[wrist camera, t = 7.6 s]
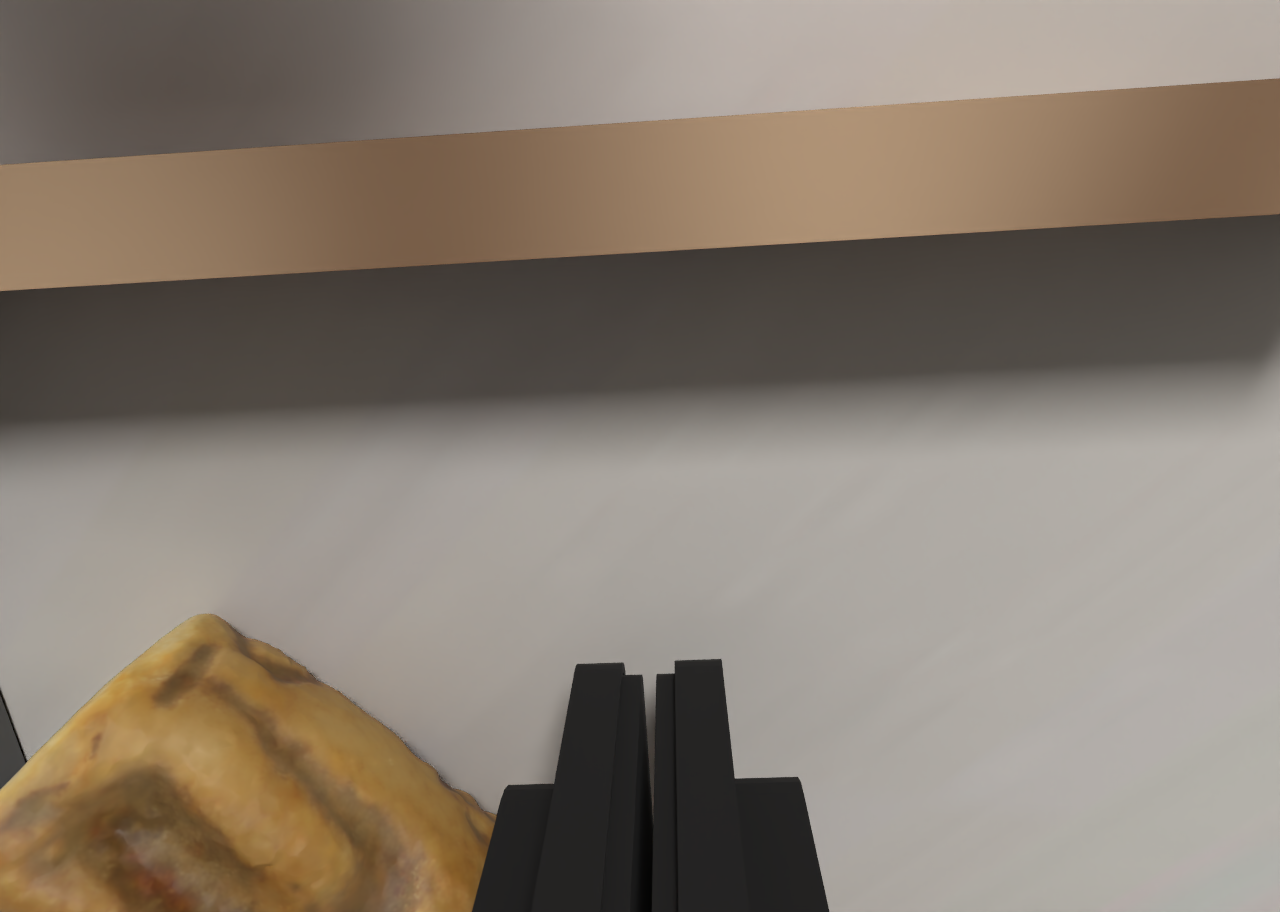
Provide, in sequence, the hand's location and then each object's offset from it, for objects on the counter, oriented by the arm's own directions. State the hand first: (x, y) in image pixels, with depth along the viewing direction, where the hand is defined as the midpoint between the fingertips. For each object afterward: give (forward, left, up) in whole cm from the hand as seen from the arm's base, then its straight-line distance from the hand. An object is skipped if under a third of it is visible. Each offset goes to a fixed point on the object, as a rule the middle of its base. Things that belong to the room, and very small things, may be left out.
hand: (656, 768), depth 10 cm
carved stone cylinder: (+4, +2, -2) cm, 4 cm away
